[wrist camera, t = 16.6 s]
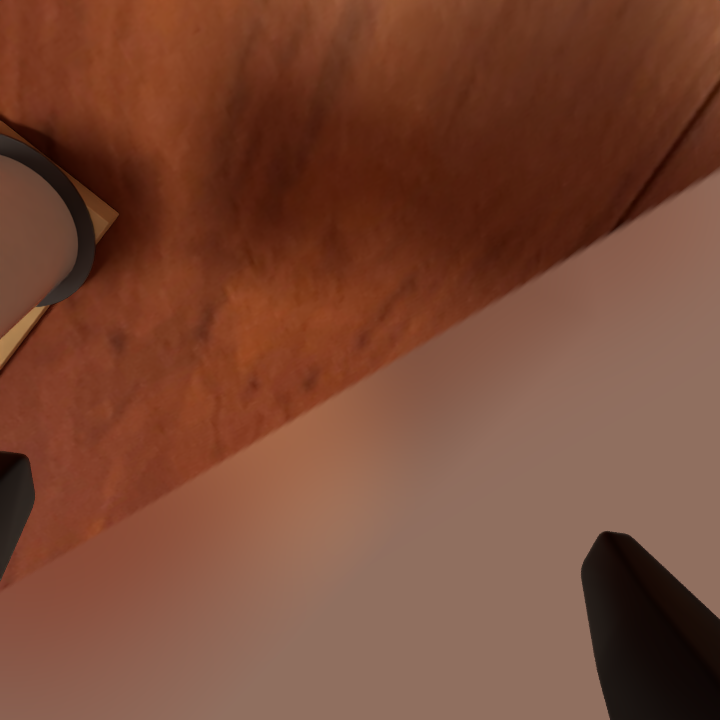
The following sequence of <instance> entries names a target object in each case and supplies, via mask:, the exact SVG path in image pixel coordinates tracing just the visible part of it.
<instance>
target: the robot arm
mask: <svg viewBox="0 0 720 720" xmlns="http://www.w3.org/2000/svg"><path fill="white" fill-rule="evenodd" d="M34 500H35V490H34V484H33V478H32V473H31V467H30V462H29V459H28V457H27V456H26V455H24V454H21V453H13V452H5V451H0V581H1V578H2V576H3V574H4V572H5V569H6V567H7V565H8V562H9V560H10V558H11V556H12V553H13V551H14V549H15V547H16V544H17V542H18V540H19V538H20V535H21V533H22V531H23V528H24V526H25V524H26V522H27V519H28V517H29V515H30V513H31V510H32V508H33V504H34ZM581 579H582V585H583V591H584V597H585V603H586V609H587V615H588V621H589V627H590V633H591V639H592V645H593V651H594V657H595V662H596V667H597V672H598V675H599V680H600V684H601V687H602V691H603V695H604V699H605V702H606V706H607V710H608V713H609V717H610V720H720V619H719V618H718V617H717V616H716V615H714V614H713V613H712V612H711V611H710V610H709V609H708V608H707V607H706V606H705V605H704V604H703V603H702V602H701V601H700V600H698V599H697V598H696V597H695V596H694V595H693V594H692V593H691V592H690V591H689V590H688V589H687V588H686V587H685V586H684V585H683V584H681V583H680V582H679V581H678V580H677V579H676V578H675V577H674V576H673V575H672V574H671V573H670V572H669V571H668V570H667V569H666V568H664V567H663V566H662V565H661V564H660V563H659V562H658V561H657V560H656V559H655V558H654V557H653V556H652V555H651V554H649V553H648V552H647V551H646V550H645V549H644V548H643V547H642V546H641V545H640V544H639V543H638V542H637V541H636V540H635V539H634V538H632V537H631V536H630V535H628V534H624V533H617V532H610V531H605V532H602V533H601V534H599V536H598V537H597V539H596V541H595V543H594V544H593V546H592V548H591V549H590V551H589V553H588V555H587V557H586V558H585V560H584V562H583V565H582V569H581Z"/></svg>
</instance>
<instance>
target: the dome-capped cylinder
mask: <svg viewBox="0 0 720 720" xmlns="http://www.w3.org/2000/svg"><path fill="white" fill-rule="evenodd" d="M77 253H78V236H77V231H76V227H75V224H74V220H73V218H72V216H71V213H70V211H69V209H68V208H67V206H66V204H65V203H64V201H63V199H62V198H61V197H60V195H59V194H58V193H57V192H56V190H55V189H54V188H53V187H52V186H51V185H50V184H49V183H48V182H47V181H46V180H45V179H44V178H42V177H41V176H40V175H39V174H37V173H36V172H35V171H33V170H32V169H30V168H29V167H27V166H25V165H24V164H22V163H20V162H18V161H16V160H13V159H11V158H8V157H5V156H2V155H0V339H2V338H3V337H4V336H5V335H6V334H7V333H8V332H9V331H10V330H11V329H12V328H13V327H14V326H15V325H17V324H18V323H19V322H20V321H21V320H22V319H23V318H24V317H25V316H26V315H27V314H28V313H29V312H30V311H32V310H33V309H34V308H35V307H36V306H37V305H38V304H39V303H40V302H41V301H42V300H43V299H44V298H45V297H46V296H48V295H49V294H50V293H51V292H52V291H53V290H54V289H55V288H56V287H57V286H58V285H59V284H60V283H61V282H63V281H64V279H65V278H66V277H67V276H68V275H69V274H70V272H71V271H72V269H73V267H74V264H75V262H76V258H77Z"/></svg>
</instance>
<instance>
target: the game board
mask: <svg viewBox="0 0 720 720" xmlns="http://www.w3.org/2000/svg"><path fill="white" fill-rule="evenodd" d="M0 155H2V156H5V157H8V158H11V159H13V160H16V161H18V162H20V163H22V164H24V165H25V166H27V167H29V168H30V169H32V170H33V171H35V172H36V173H37V174H39V175H40V176H41V177H42V178H44V179H45V180H46V181H47V182H48V183H49V184H50V185H51V186H52V187H53V188H54V189H55V190H56V192H57V193H58V194H59V195H60V197H61V198H62V199H63V201H64V203H65V204H66V206H67V208H68V209H69V211H70V213H71V216H72V218H73V220H74V224H75V227H76V231H77V236H78V253H77V258H76V262H75V264H74V267H73V269H72V271H71V272H70V274H69V275H68V276H67V277H66V278H65V279H64V281H63V282H61V283H60V284H59V285H58V286H57V287H56V288H55V289H54V290H53V291H52V292H51V293H50V294H49V295H48V296H46V297H45V298H44V299H43V300H42V301H41V302H40V303H39V304H38V305H37V306H36V307H35V308H34V309H33V310H32V311H30V312H29V313H28V314H27V315H26V316H25V317H24V318H23V319H22V320H21V321H20V322H19V323H18V324H17V325H15V326H14V327H13V328H12V329H11V330H10V331H9V332H8V333H7V334H6V335H5V336H4V337H3V338H2V339H0V370H1V369H2V368H3V366H4V365H5V364H6V363H7V361H8V360H9V359H10V357H11V356H12V355H13V353H14V352H15V351H16V349H17V348H18V347H19V345H20V344H21V343H22V342H23V340H24V339H25V338H26V336H27V335H28V334H29V332H30V331H31V330H32V328H33V327H34V326H35V325H36V323H37V322H38V321H39V319H40V318H41V317H42V315H43V314H44V313H45V311H46V310H47V309H48V307H49V306H50V305H52V304H54V303H57V302H60V301H62V300H64V299H66V298H68V297H69V296H71V295H72V294H73V293H74V292H76V291H77V290H78V289H79V288H80V287H81V286H82V284H83V283H84V282H85V280H86V279H87V277H88V276H89V274H90V271H91V269H92V267H93V263H94V259H95V251H96V244H97V243H98V242H99V241H100V239H101V238H102V237H103V235H104V234H105V233H106V231H107V230H108V229H109V227H110V226H111V225H112V224H113V222H114V221H115V220H116V218H117V217H118V216H119V213H118V212H116V211H115V210H114V209H113V208H111V207H110V206H109V205H108V204H106V203H105V202H104V201H102V200H101V199H100V198H99V197H97V196H96V195H95V194H94V193H92V192H91V191H90V190H89V189H87V188H86V187H85V186H83V185H82V184H81V183H80V182H78V181H77V180H76V179H75V178H73V177H72V176H71V175H70V174H68V173H67V172H66V171H64V170H63V169H62V168H61V167H59V166H58V165H57V164H56V163H54V162H53V161H52V160H51V159H49V158H48V157H47V156H45V155H44V154H43V153H42V152H40V151H39V150H38V149H37V148H35V147H34V146H33V145H31V144H30V143H29V142H28V141H26V140H25V139H24V138H23V137H21V136H20V135H19V134H18V133H16V132H15V131H14V130H12V129H11V128H10V127H9V126H7V125H6V124H5V123H4V122H2V121H1V120H0Z"/></svg>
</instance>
